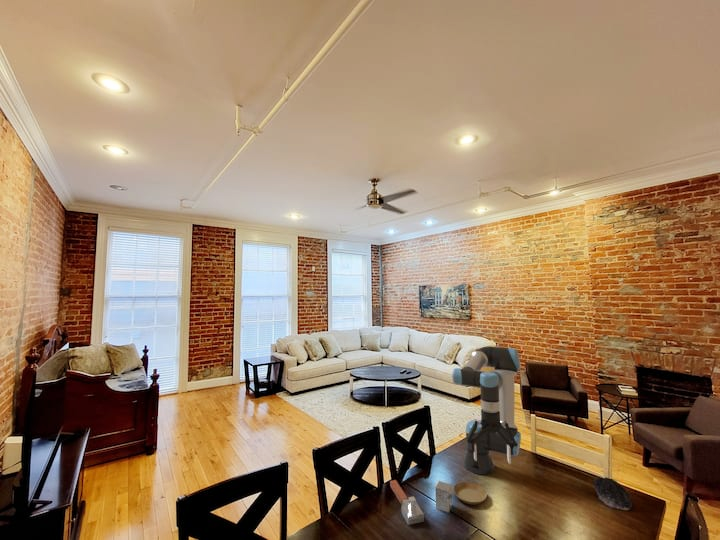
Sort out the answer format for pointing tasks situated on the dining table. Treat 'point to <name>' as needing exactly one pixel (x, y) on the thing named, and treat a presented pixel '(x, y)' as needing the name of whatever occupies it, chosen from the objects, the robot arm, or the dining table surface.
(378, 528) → the dining table surface
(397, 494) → the mallet
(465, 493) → the plant saucer
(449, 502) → the white upright block
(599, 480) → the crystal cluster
